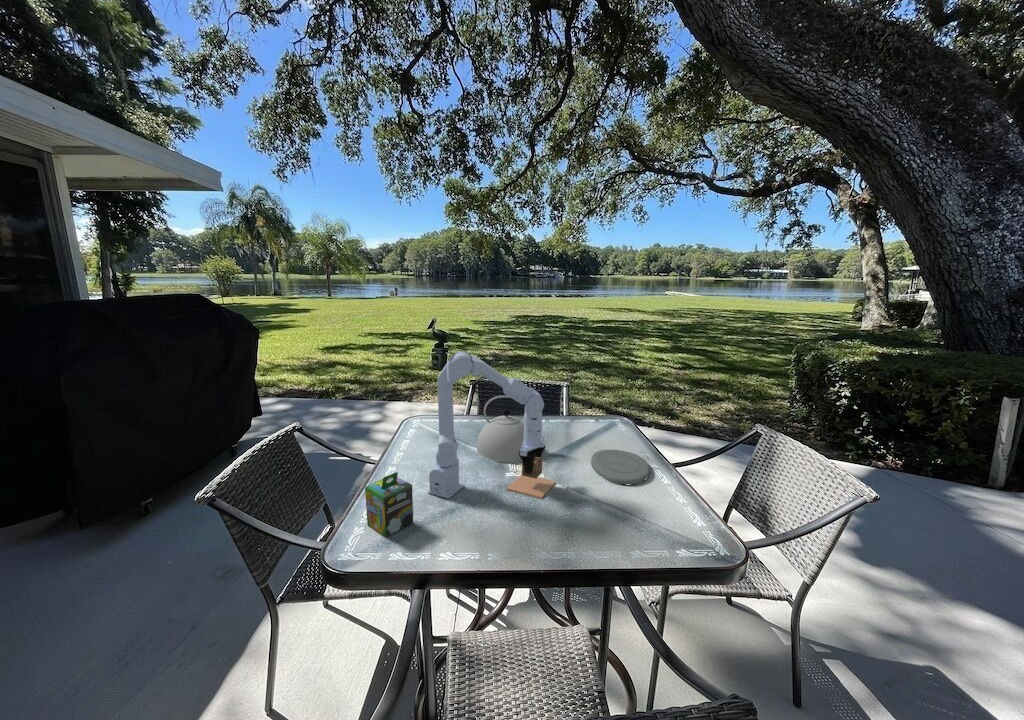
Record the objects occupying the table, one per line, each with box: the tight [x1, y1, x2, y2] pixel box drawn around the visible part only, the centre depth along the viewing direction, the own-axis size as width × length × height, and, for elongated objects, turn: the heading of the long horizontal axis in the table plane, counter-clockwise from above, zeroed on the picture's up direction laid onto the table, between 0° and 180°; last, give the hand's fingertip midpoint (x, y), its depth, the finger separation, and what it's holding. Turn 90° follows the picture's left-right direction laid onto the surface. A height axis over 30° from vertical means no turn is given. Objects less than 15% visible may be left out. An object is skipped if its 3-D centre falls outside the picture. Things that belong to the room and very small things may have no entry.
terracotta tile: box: [506, 474, 556, 500], centre depth 137 cm, size 12×12×1 cm
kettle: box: [476, 395, 524, 464], centre depth 165 cm, size 25×23×22 cm
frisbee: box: [590, 449, 651, 485], centre depth 152 cm, size 20×27×3 cm
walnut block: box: [521, 457, 544, 478], centre depth 136 cm, size 5×5×5 cm
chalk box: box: [364, 471, 414, 538], centre depth 113 cm, size 9×9×15 cm
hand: (531, 469), depth 136 cm, fingers closed on walnut block, 5 cm apart
